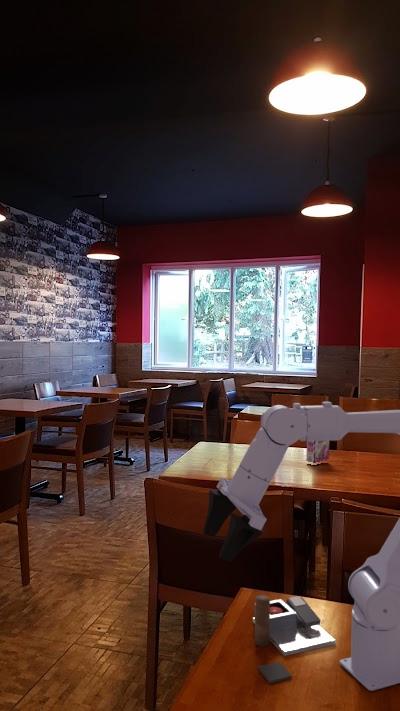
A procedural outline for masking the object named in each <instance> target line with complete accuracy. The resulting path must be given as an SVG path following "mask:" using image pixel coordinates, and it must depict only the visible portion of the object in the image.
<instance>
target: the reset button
mask: <svg viewBox="0 0 400 711" xmlns="http://www.w3.org/2000/svg"><path fill="white" fill-rule="evenodd" d="M280 613H283V610H282V609H281V608H278V607H270V615H275V614H280Z"/></svg>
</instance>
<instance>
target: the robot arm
mask: <svg viewBox="0 0 400 711" xmlns="http://www.w3.org/2000/svg"><path fill="white" fill-rule="evenodd" d="M348 433H364V434H365V433H370V434H371V433H372V434H373V433H374V434H375V433H378V434H379V433H380V434H381V433H382V434H397V435H399V436H400V409H390V410H389V409H388V410H374V411H373V410H372V411H357V412H356V411H355V412H354V411H353V412H346V411H344V410H343V408H342V407H340V406H339V405H338V404H337V405H336V404H335V405H333V403H332V402H331V401H322V402H321V405H302V404H301V403H299V402H293V405H292V408H291V407H288V406H285V405H282V404H276V405H272V406H271V407H269V408H268V409H267V410H266V411H264V412H262V414H261V417H260V428H259V429H258V431H257V432H256V435H255V437H254V438H253V440H252V441H251V442H250V444H249V446H248V448H247V450H246V452H245V453H244V455H243V457H242V459H241V461H240V463H239V465H238V467H237V469H236V470H235V472H234V474H233V476H232V478H231V480H230V479H227V478H224V477H220V479H219V481H218V483H217V485H216V488H217V490H215V489H213V488H211V489H210V490H209V491H208V497H209V499H208V509H207V513H206V517H205V521H204V525H203V529H202V533H203V534H204V535H205V536H210V537H212V538H215V536H216V535H217V534H218V532H219V531H220V529H221V528H222V526H223V524H225V522H226V521H227V519H228V518H229V516H230V519H229V525H228V530H227V534H226V535H225V538H224V541H223V543H222V545H221V548H220V549H219V555H218V556H219V558H220V560H221V559H222V560H225V561H228V562H232V561H233V560H234V558H236V556H237V555H238V554H239V553H240V552H241V551H242V550H243V549H244V548H245V547H246V546H247V545H249V544H250V543H252V541H254V540H255V539H257V538H259V537H261V536H262V535H263V534H264V529H263V528H264V525H265V523H266V522H267V518H266V517H265V515H264V514H263V512H262V509H261V507H260V503H261V501H262V499H263V497H264V495H265V494H266V492H267V490H268V488H269V486H270V485H271V484H270V483H271V481H273V478H274V477H275V474H276V473H277V470H278V469H279V467H280V465H281V463H282V461H283V460H284V458H285V455H286V453H287V450H288V449H289V447H290V446H291V445H293V444H295V443H296V442H298V441H300V442H307V441H329V442H330V441H341V440H342V439H343V438H344V437H345V436H346V435H347V434H348ZM237 509H238V511H239V512H240V513H241V514H242V516H241V515H238V514H235V513H234V511H236V510H237ZM347 587H348V588H347V589H348V592H349V594H350V595H351V598H352V599H353V600H354V601H353V602H354V604H353V607H352V609H351V636H350V637H351V643H350V644H351V645H350V657H346V658H343V659H342V658H341V659H340V660H339V664H340V665H341V666H342V667H343V668H344V669H345V670H346V671H347V672H349V673H350V674H351V675H352V676H353V678H355V679H356V680H357V681H358V682H359V683H360V684H361V685H363V686H364V687H365V688H366V690H368V691H371V692H372V691H376V690H380V689H384V688H388V687H391V686H394V685H397V684H400V517H399V518H398V519H397V521H396V523H395V525H394V527H393V529H392V530H391V531H390V533H389V535H388V537H387V538H386V540H385V542H384V544H383V545H382V546H381V549H380V550H379V551H378V553H376V554H375V555H371V556H369V557H367V559H366V560H365V562H364V563H363V565H361V566H360V567H358V568H357V569H356V570H354V571H353V572H352V573H351V575H350V576H349V579H348V582H347Z"/></svg>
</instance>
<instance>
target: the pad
mask: <svg viewBox="0 0 400 711" xmlns="http://www.w3.org/2000/svg"><path fill="white" fill-rule="evenodd" d="M257 670H258V671H259V672H260V673H261V675H262V676H263V677H264V678H265V679H266V681H267V682H268V683H269V684H275V683H278V682H282V681H286V680H291V679H292V678H293V675H292V674H291V673H290V672H289V671H288V669H287V668H285V666H284V665H283V664H282V663H281V661H277V662H273V663H269V664H268V663H267V664H263V665H259V666H257Z"/></svg>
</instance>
